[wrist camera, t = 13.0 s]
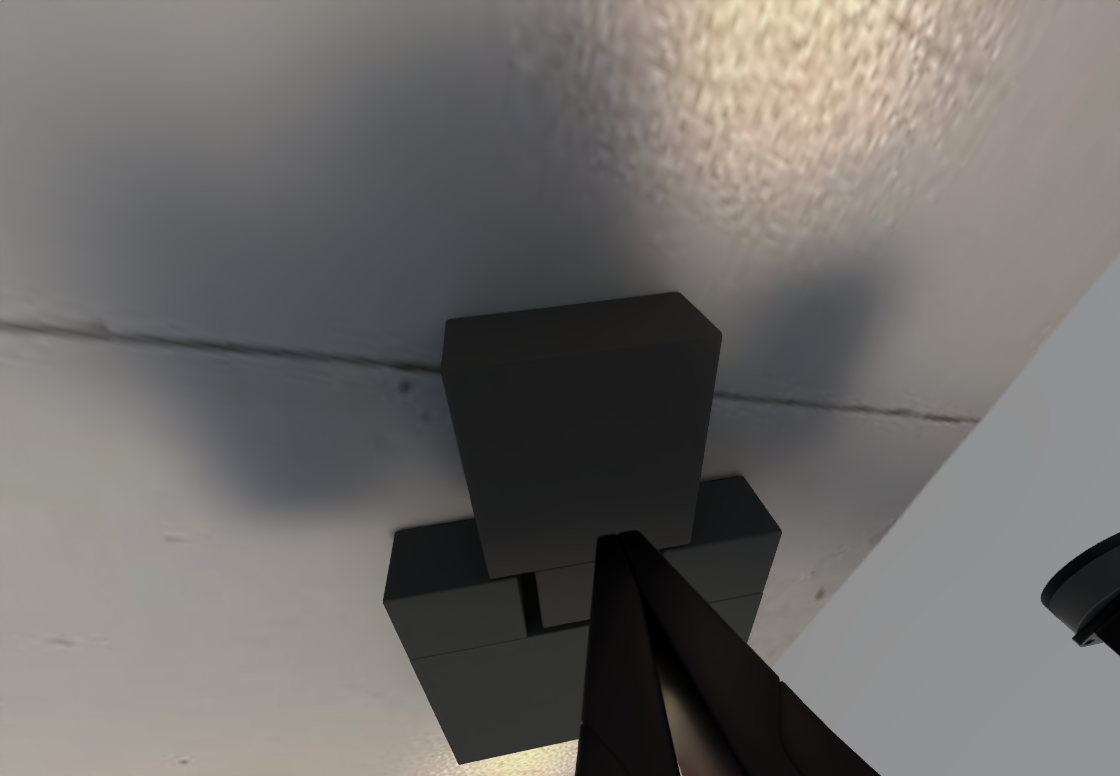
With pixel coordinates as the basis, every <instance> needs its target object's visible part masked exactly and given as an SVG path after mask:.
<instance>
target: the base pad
mask: <svg viewBox="0 0 1120 776" xmlns="http://www.w3.org/2000/svg"><path fill="white" fill-rule="evenodd" d="M781 534H782V531H781V529H780V527H779V526H778V525H777V523H776V522H775V520H774V519H773V518H772V516H771V515H770V513H769V512H768V511H767V509H766V508H765V506H764V505H763V503H762V502H761V501H760V499H759V498H758V496H757V495H756V494H755V492H754V491H753V489H752V488H751V487H750V485H749V484H748V482H747V481H746V479H745V478H744V477H742V476H741V477H735V478H728V479H722V480H716V481H710V482H704V483H699V490H698V496H697V503H696V509H695V516H694V522H693V529H692V535H691V542H690V543H689V544H684V545H679V546H673V547H667V548H662V549H657V550H658V551H659V552H660V553H661V554H662V555H663V556H664V557H665V558H666V559H667V560H668V561H669V563H670V564H671V565H672V566H673V567H674V568H675V569H676V570H677V571H678V572H679V573H680V574H681V575H682V576H683V577H684V578H685V579H686V580H687V581H688V582H689V583H690V585H691V586H692V587H693V588H694V589H695V590H696V591H697V592H698V593H699V594H700V595H701V596H702V597H703V598H704V599H705V600H706V601H707V602H708V603H709V604H710V605H711V606H712V608H713V609H714V610H715V611H716V612H717V613H718V614H719V615H720V616H721V617H722V618H723V619H724V620H725V621H726V622H727V623H728V624H729V625H730V626H731V627H732V628H733V629H734V631H735V632H736V633H737V634H738V635H739V636H740V637H741V638H742V639H743V640H744V641H745V642H746V643H747V642H748V639H749V635H750V632H751V629H752V626H753V623H754V620H755V617H756V614H757V611H758V608H759V604H760V601H761V598H762V595H763V592H762V591H763V590H764V587H765V584H766V581H767V578H768V575H769V572H770V569H771V565H772V562H773V559H774V556H775V553H776V550H777V547H778V544H779V541H780V537H781ZM383 604H384V606H385V608H386V610H387V613H388V615H389V617H390V619H391V621H392V623H393V625H394V627H395V630H396V632H397V634H398V636H399V638H400V640H401V642H402V644H403V647H404V649H405V651H406V653H407V655H408V657H409V659H410V662H411V664H412V666H413V668H414V671H415V673H416V675H417V677H418V679H419V681H420V683H421V685H422V688H423V690H424V692H425V694H426V696H427V698H428V700H429V703H430V705H431V707H432V709H433V711H434V713H435V715H436V717H437V720H438V722H439V724H440V726H441V728H442V730H443V732H444V734H445V737H446V739H447V741H448V743H449V745H450V747H451V749H452V751H453V754H454V756H455V758H456V760H457V762H458V764H459V765H461V764H465V763H470V762H474V761H479V760H484V759H488V758H493V757H498V756H502V755H507V754H511V753H516V752H521V751H525V750H530V749H535V748H539V747H544V746H548V745H553V744H558V743H562V742H567V741H572V740H576V739H579V731H580V725H581V712H582V700H583V689H584V678H585V667H586V656H587V645H588V634H589V622H590V619H588V620H583V621H578V622H572V623H567V624H562V625H557V626H551V627H546V628H544V627H543V625H542V619H541V612H540V605H539V598H538V591H537V584H536V577H535V571H533V572H527V573H522V574H516V575H510V576H505V577H499V578H494V579H491V578H490V577H489V574H488V570H487V566H486V562H485V557H484V553H483V549H482V545H481V541H480V536H479V532H478V528H477V524H476V519H474V520H468V521H462V522H456V523H450V524H443V525H437V526H431V527H425V528H419V529H413V530H406V531H400V532H396V533H395V536H394V542H393V547H392V553H391V559H390V564H389V570H388V575H387V581H386V587H385V592H384V598H383Z"/></svg>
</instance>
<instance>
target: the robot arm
mask: <svg viewBox="0 0 1120 776" xmlns="http://www.w3.org/2000/svg"><path fill="white" fill-rule="evenodd" d="M1072 639H1073V641H1075V642H1076V643H1077V644H1078V645H1079V646H1080V647H1084V646H1089V645H1094V644H1099V643H1103V642H1104V643H1105V644H1106V645H1107V646H1109V647H1110V648H1111V649H1112V650H1113V651H1114V652H1116V653H1117V654H1118V655H1119V656H1120V593H1119V594H1118V595H1117V596H1116V597H1115V598H1114V599H1113V600H1112V601H1111V602H1110V603H1109V604H1107V605H1106V606H1105V607H1104V608H1103V609H1102V610H1101V611H1100V612H1099V613H1098V614H1097V615H1096V616H1095V617H1094V618H1093V619H1092V620H1091V621H1090V622H1088V623H1087V624H1086V625H1085V626H1084V627H1083V628H1082V629H1081V630H1080V631H1079V632H1078V633H1077V634H1076V635H1075V636H1074V637H1073V638H1072ZM677 761H678V763H677ZM678 764H679V767H680V770H681V772H682V775H683V776H881V775H879V774H878V773H877V772H876V771H875V770H874V769H873V768H871V767H870V766H869V765H868V764H867V763H866V762H865V761H864V760H863V759H862V758H861V757H859V756H858V755H857V754H856V753H855V752H854V751H853V750H852V749H851V748H850V747H849V746H847V745H846V744H845V743H844V742H843V741H842V740H841V739H840V738H839V737H838V736H836V734H834V733H833V732H832V731H831V730H830V729H829V728H828V727H827V726H826V725H825V724H824V723H823V722H822V721H821V720H820V719H819V718H818V717H817V716H816V715H815V714H814V713H813V712H812V711H811V710H810V709H809V708H808V707H807V706H806V705H805V704H804V703H803V702H802V700H801V699H800V698H799V697H798V696H797V695H796V694H795V693H794V692H793V691H792V690H791V689H790V688H789V687H788V686H787V685H786V684H785V683H784V682H783V681H781V682H780V679H779V677H778V676H777V674H775V672H774V671H773V670H772V669H771V668H770V667H769V666H768V665H767V664H766V663H765V662H764V661H763V660H762V659H761V658H760V657H759V656H758V655H757V654H756V653H755V651H754V650H753V649H752V648H751V647H750V646H749V645H748V644H747V643H746V642H745V641H744V640H743V639H742V638H741V637H740V636H739V635H738V634H737V633H736V632H735V631H734V629H733V628H732V627H731V626H730V625H729V624H728V623H727V622H726V621H725V620H724V619H723V618H722V617H721V616H720V615H719V614H718V613H717V612H716V611H715V610H714V609H713V608H712V606H711V605H710V604H709V603H708V602H707V601H706V600H705V599H704V598H703V597H702V596H701V595H700V594H699V593H698V592H697V591H696V590H695V589H694V588H693V587H692V586H691V585H690V583H689V582H688V581H687V580H686V579H685V578H684V577H683V576H682V575H681V574H680V573H679V572H678V571H677V570H676V569H675V568H674V567H673V566H672V565H671V564H670V563H669V561H668V560H667V559H666V558H665V557H664V556H663V555H662V554H661V553H660V552H659V551H658V550H657V549H656V548H655V547H654V546H653V545H652V544H651V543H650V542H649V541H648V540H647V538H646V537H645V536H644V535H643V534H642V533H641V532H639V531H638V530H630V531H625V532H620V533H619V534H618V535H617V534H614V533H613V534H607V535H601V536H599V537H598V538H597V544H596V555H595V567H594V578H593V589H592V600H591V611H590V622H589V634H588V645H587V656H586V667H585V678H584V689H583V700H582V712H581V725H580V731H579V742H578V753H577V762H576V770H575V776H680V772H679V767H678Z"/></svg>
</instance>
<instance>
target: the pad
mask: <svg viewBox="0 0 1120 776" xmlns="http://www.w3.org/2000/svg"><path fill="white" fill-rule="evenodd" d="M721 341H722V333H721V331H720V330H719V329H717V328H716V327H715V326H714V325H713V324H712V323H711V322H710V321H709V320H708V319H707V318H706V317H705V316H704V315H703V314H702V313H701V312H700V311H699V310H698V309H697V308H695V307H694V306H693V305H692V304H691V303H690V302H689V301H688V300H687V299H686V298H685V297H684V296H683V295H682V294H681V293H678V292H677V293H668V294H660V295H652V296H643V297H635V298H626V299H618V300H610V301H601V302H593V303H584V304H576V305H567V306H559V307H551V308H542V309H534V310H525V311H517V312H509V313H500V314H492V315H483V316H475V317H466V318H458V319H450V320H447V321H446V328H445V337H444V345H443V354H442V362H441V376H442V380H443V384H444V388H445V393H446V397H447V401H448V405H449V409H450V414H451V418H452V422H453V426H454V431H455V435H456V439H457V443H458V448H459V452H460V456H461V460H462V464H463V469H464V473H465V477H466V481H467V486H468V490H469V494H470V498H471V503H472V507H473V511H474V515H475V519H476V524H477V528H478V532H479V536H480V541H481V545H482V549H483V553H484V557H485V562H486V566H487V570H488V574H489V577H490V578H491V579H494V578H499V577H505V576H510V575H516V574H522V573H527V572H533V571H535V577H536V584H537V591H538V598H539V605H540V612H541V619H542V625H543V627H544V628H546V627H551V626H557V625H562V624H567V623H572V622H578V621H583V620H588V619H590V611H591V600H592V589H593V578H594V567H595V555H596V544H597V538H598V537H599V536H601V535H607V534H613V533H614V534H617V535H618V534H619V533H620V532H625V531H630V530H638V531H639V532H641V533H642V534H643V535H644V536H645V537H646V538H647V540H648V541H649V542H650V543H651V544H652V545H653V546H654V547H655V548H656V549H662V548H667V547H673V546H679V545H684V544H689V543H690V542H691V535H692V529H693V522H694V516H695V509H696V503H697V496H698V490H699V483H700V477H701V470H702V464H703V458H704V451H705V445H706V438H707V432H708V425H709V419H710V412H711V406H712V399H713V393H714V386H715V380H716V373H717V367H718V360H719V354H720V347H721Z"/></svg>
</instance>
